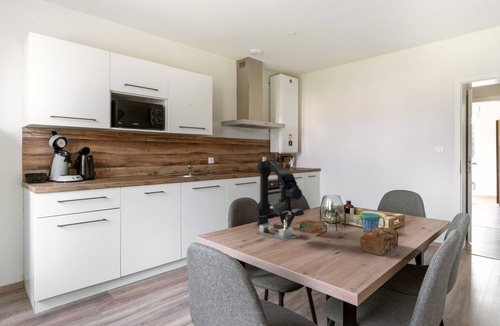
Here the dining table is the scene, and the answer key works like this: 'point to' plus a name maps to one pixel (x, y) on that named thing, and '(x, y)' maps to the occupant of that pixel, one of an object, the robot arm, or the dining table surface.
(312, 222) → the tin
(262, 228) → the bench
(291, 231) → the jaw
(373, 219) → the snack cup
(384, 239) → the bread
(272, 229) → the walnut
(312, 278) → the dining table surface
